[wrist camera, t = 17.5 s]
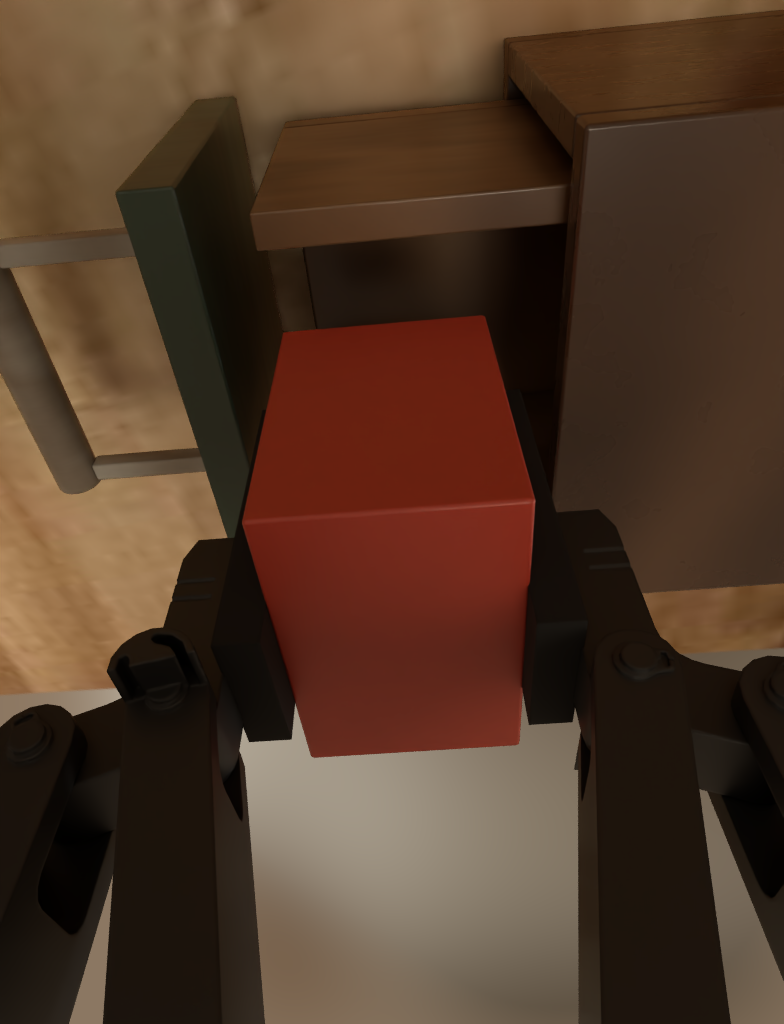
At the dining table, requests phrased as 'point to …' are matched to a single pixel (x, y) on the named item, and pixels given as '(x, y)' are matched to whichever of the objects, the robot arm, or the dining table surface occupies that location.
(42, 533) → the dining table surface
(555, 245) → the drawer
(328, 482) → the red block
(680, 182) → the cabinet
